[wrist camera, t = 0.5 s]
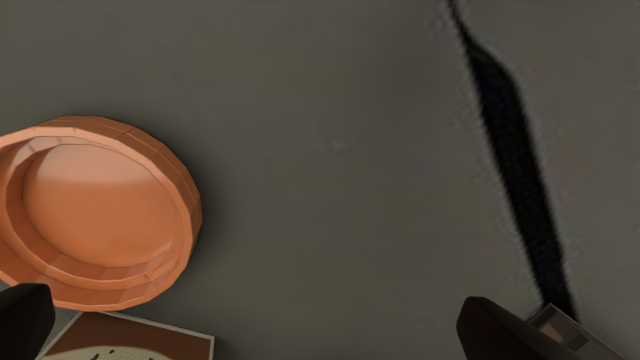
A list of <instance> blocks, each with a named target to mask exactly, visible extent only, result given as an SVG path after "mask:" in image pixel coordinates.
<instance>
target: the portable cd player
mask: <svg viewBox="0 0 640 360" xmlns="http://www.w3.org/2000/svg"><path fill="white" fill-rule="evenodd" d="M527 323H528V324H530V325H532V326H533V327H535V328H537V329H538V330H540V331H541V332H543V333H545V334H546V335H548V336H550V337H551V338H553V339H555V340H556V341H558V342H559V343H561V344H563V345H564V346H566V347H568V348H569V349H571V350H573V351H574V352H576V353H577V354H579V355H581V356H582V357H584V358H586V359H587V360H627V359H625V358H624V357H623V356H621V355H620V354H619V353H617V352H616V351H615V350H613V349H612V348H611V347H609V346H608V345H606V344H605V343H604V342H602V341H601V340H600V339H598V338H597V337H596V336H594V335H593V334H592V333H590V332H589V331H587V330H586V329H585V328H583V327H582V326H581V325H579V324H578V323H577V322H575V321H574V320H573V319H571V318H570V317H568V316H567V315H566V314H564V313H563V312H562V311H560V310H559V309H558V308H556V307H555V306H553V305H552V304H551V303H549V304H548V305H547V306H545V307H544V308H543V309H542V310H541V311H540V312H538V313H537V314H536V315H535V316H534V317H532V318H531V319H530V320H529V321H528V322H527Z"/></svg>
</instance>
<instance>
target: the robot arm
mask: <svg viewBox="0 0 640 360" xmlns="http://www.w3.org/2000/svg"><path fill="white" fill-rule="evenodd" d="M54 323H55V310H54V304H53V299H52V294H51V289H50V287H49V285H48V284H46V283H35V282H23V283H19V284H17V285H15V286H13V287H10V288H8V289H6V290H4V291H1V292H0V360H35V359H36V357H37V355H38V354H39V352H40V350H41V348H42V346H43V345H44V343H45V341H46V339H47V337H48V336H49V334H50V332H51V330H52V328H53V326H54ZM456 329H457V333H458V336H459V339H460V342H461V344H462V347H463V350H464V352H465V355H466V357H467V360H587V359H586V358H584V357H582V356H581V355H579V354H577V353H576V352H574V351H573V350H571V349H569V348H568V347H566V346H564V345H563V344H561V343H559V342H558V341H556V340H555V339H553V338H551V337H550V336H548V335H546V334H545V333H543V332H541V331H540V330H538V329H537V328H535V327H533V326H532V325H530V324H528V323H527V322H525V321H523V320H522V319H520V318H519V317H517V316H515V315H514V314H512V313H510V312H509V311H507V310H505V309H504V308H502V307H501V306H499V305H497V304H496V303H494V302H492V301H491V300H489V299H487V298H485V297H475V296H470V297H467V298H466V299H465V301H464V304H463V306H462V309H461V312H460V314H459V317H458V320H457V324H456Z"/></svg>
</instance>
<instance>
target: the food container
mask: <svg viewBox="0 0 640 360" xmlns="http://www.w3.org/2000/svg"><path fill="white" fill-rule="evenodd" d="M214 338H215V337H214V336H210V335H206V334H202V333H198V332H194V331H190V330H186V329H182V328H178V327H174V326H170V325H166V324H162V323H158V322H154V321H150V320H146V319H142V318H138V317H134V316H130V315H126V314H122V313H118V312H114V311H96V312H89V311H88V312H86V311H79V312H78V313H77V315H76V316H75V317H74V318H73V319H72V320H71V321H70V322H69V323H68V324H67V325H66V326H65V327H64V328H63V330H62V331H61V332H60V333H59V334H58V335H57V336H56V337H55V338H54V339H53V340H52V341H51V342H50V344H49V345H48V346H47V347H46V348H45V349H44V350H43V351H42V352H41V353H40V354H39V355H38V356H37V357H36V359H35V360H212V359H213V348H214Z"/></svg>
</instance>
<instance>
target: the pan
mask: <svg viewBox="0 0 640 360" xmlns="http://www.w3.org/2000/svg"><path fill="white" fill-rule="evenodd" d="M202 219H203V218H202V209H201V199H200V195H199V192H198V190H197V188H196V186H195V183H194V181H193V179H192V177H191V175H190V173H189V171H188V170H187V168H186V167H185V166H184V165H183V163H182V162H181V161H180V160H179V159H178V158H177V157H176V156H175V155H174V154H173V153H172V152H171V151H170V149H169V148H168V147H167V146H165V144H163V143H161V142H160V141H158V140H156V139H155V138H153V137H152V136H150V135H148V134H147V133H145V132H143V131H142V130H140V129H139V128H137V127H136V128H135V127H134V126H130V125H127V124H124V123H120V122H117V121H114V120H110V119H107V118H104V117H97V116H63V117H60V118H56V119H53V120H50V121H46V122H43V123H40V124H36V125H33V126H30V127H27V128H24V129H21V130H18V131H15V132H12V133H9V134H6V135H2V136H0V279H1V280H3V281H4V282H6V283H7V284H9V285H10V286H12V287H13V286H15V285H17V284H19V283H23V282H35V283H46V284H48V285H49V287H50V289H51V294H52V299H53V304H54V306H56V307H62V308H68V309H74V310H80V311H86V312H88V311H89V312H96V311H115V310H122V309H126V308H129V307H132V306H136V305H139V304H142V303H145V302H148V301H150V300H151V299H153V298H155V297H156V296H158V295H159V294H161V293H162V292H164V291H165V290H167V289H168V288H170V287H171V286H172V285H173V284H174V282H175V281H176V280H177V278H178V277H179V276H180V274H181V273H182V272H183V270H184V269H185V268H186V266H187V264H188V262H189V259H190V257H191V255H192V252H193V250H194V247H195V245H196V242H197V239H198V235H199V232H200V228H201V224H202Z"/></svg>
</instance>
